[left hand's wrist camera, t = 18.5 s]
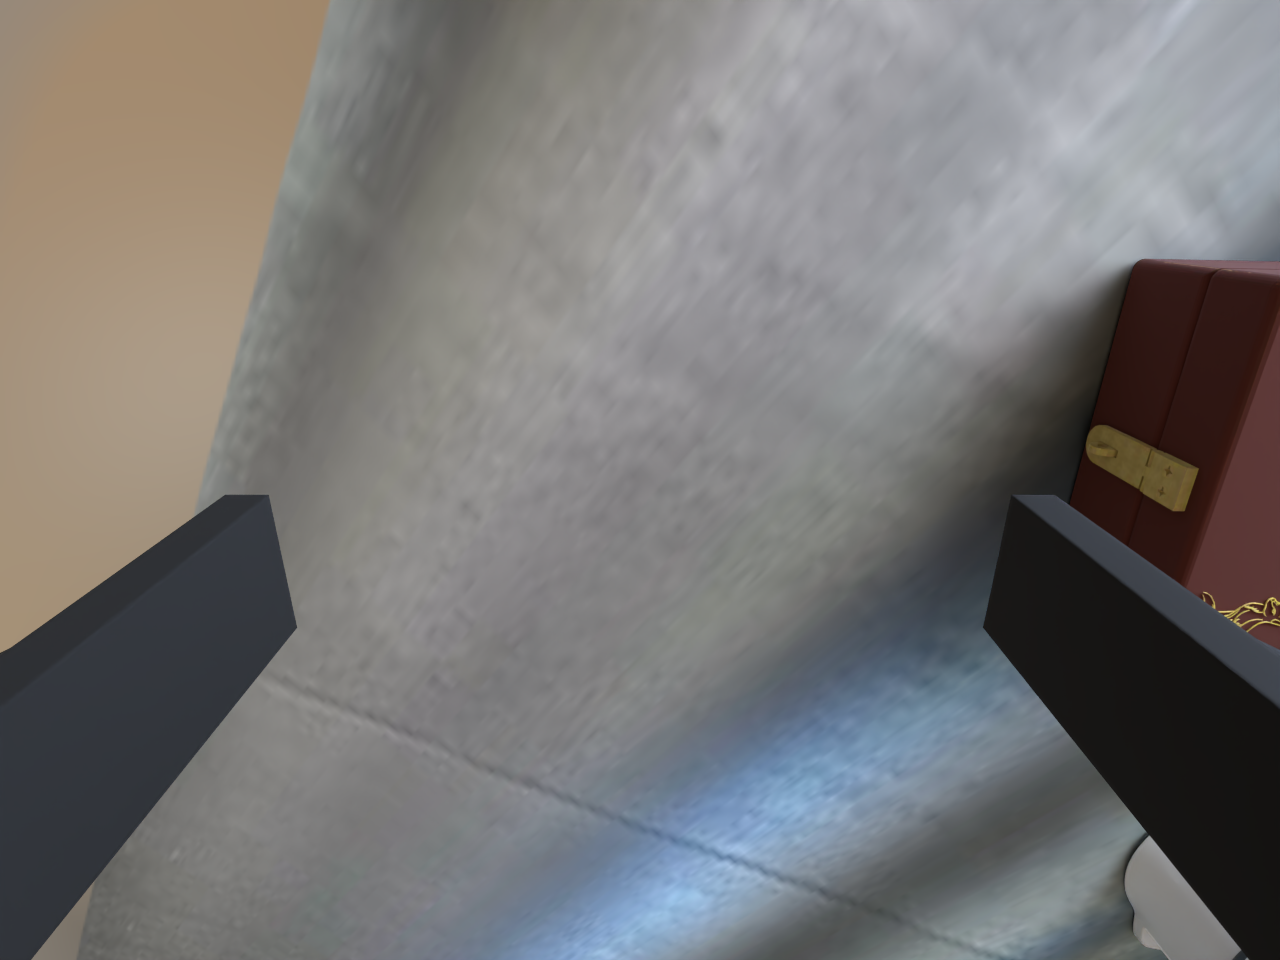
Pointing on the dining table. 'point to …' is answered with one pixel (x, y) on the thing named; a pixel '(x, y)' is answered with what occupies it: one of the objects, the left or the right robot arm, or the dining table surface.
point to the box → (1195, 434)
